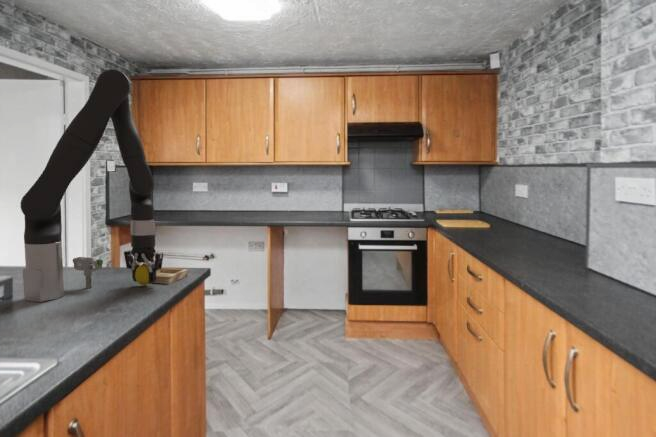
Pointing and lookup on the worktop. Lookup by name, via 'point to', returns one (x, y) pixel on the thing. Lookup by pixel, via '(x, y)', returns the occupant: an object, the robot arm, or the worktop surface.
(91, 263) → the mechanical component
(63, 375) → the worktop surface
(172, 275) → the tray
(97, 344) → the worktop surface
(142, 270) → the lemon
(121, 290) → the worktop surface
